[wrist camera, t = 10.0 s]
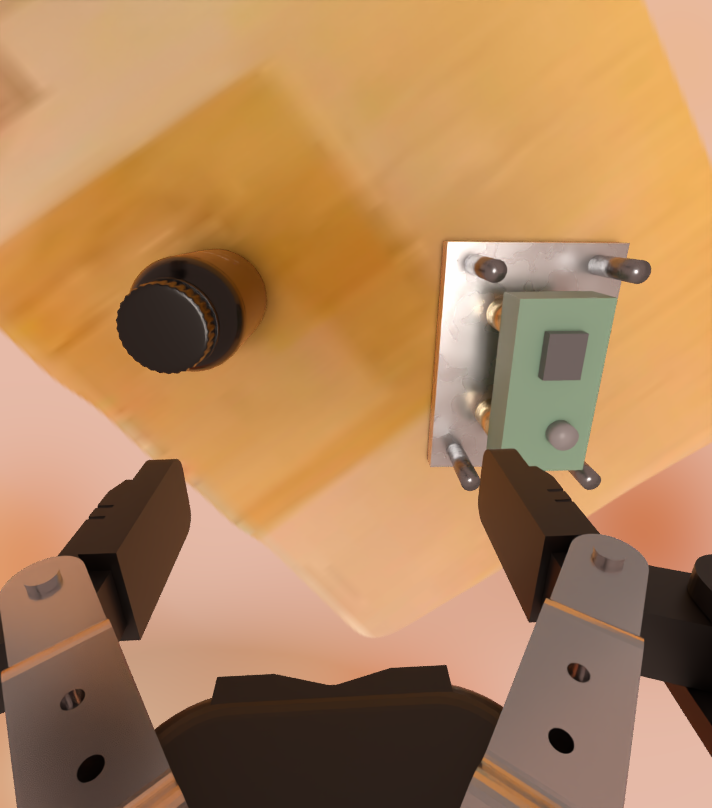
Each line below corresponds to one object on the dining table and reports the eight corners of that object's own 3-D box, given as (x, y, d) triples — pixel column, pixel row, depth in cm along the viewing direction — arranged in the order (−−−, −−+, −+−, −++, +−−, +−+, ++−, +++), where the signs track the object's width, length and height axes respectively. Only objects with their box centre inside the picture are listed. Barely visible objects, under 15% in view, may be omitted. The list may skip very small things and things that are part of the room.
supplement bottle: (233, 229, 33) (178, 233, 22) (285, 312, 35) (258, 354, 24) (156, 277, 34) (66, 305, 23) (211, 355, 36) (153, 414, 25)
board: (503, 291, 30) (526, 301, 27) (592, 291, 31) (627, 300, 27) (485, 451, 35) (503, 479, 31) (563, 450, 35) (589, 477, 31)
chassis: (443, 241, 33) (465, 245, 27) (617, 242, 34) (677, 246, 28) (427, 458, 40) (442, 500, 34) (572, 457, 40) (613, 498, 34)
